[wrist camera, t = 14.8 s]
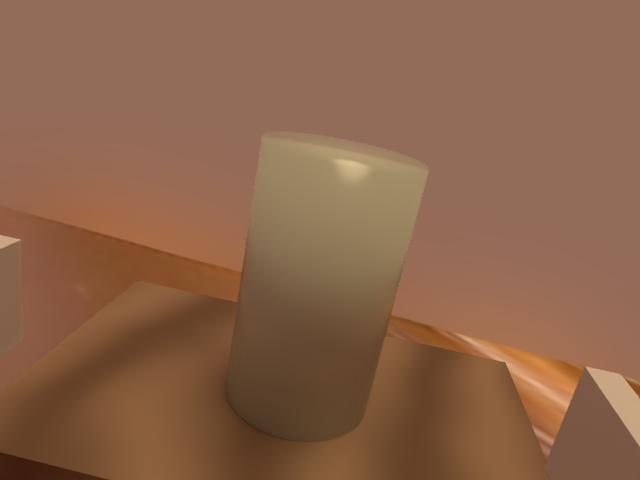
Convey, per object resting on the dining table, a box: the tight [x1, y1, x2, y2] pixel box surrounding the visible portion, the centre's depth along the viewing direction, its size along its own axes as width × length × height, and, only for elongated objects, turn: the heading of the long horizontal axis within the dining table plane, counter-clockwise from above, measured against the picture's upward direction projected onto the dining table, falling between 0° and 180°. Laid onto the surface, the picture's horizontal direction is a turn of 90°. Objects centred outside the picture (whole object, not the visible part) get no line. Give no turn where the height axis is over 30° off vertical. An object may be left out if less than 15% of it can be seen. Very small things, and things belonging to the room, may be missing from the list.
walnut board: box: [0, 280, 550, 480], centre depth 23 cm, size 22×14×2 cm, turn 82°
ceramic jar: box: [225, 132, 429, 442], centre depth 21 cm, size 6×6×11 cm
